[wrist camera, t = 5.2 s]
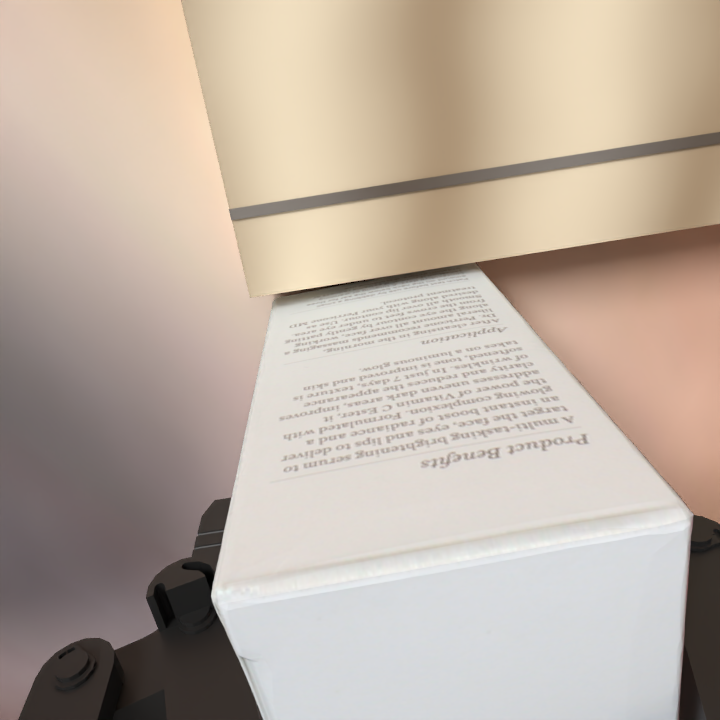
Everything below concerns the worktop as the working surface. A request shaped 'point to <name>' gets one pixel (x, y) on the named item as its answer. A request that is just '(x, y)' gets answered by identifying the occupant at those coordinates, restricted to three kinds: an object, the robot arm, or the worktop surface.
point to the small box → (444, 521)
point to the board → (454, 128)
